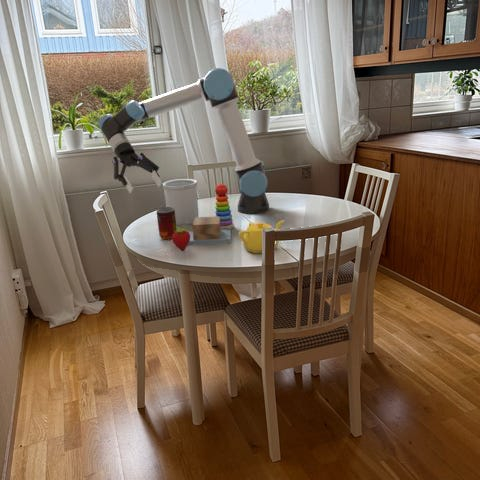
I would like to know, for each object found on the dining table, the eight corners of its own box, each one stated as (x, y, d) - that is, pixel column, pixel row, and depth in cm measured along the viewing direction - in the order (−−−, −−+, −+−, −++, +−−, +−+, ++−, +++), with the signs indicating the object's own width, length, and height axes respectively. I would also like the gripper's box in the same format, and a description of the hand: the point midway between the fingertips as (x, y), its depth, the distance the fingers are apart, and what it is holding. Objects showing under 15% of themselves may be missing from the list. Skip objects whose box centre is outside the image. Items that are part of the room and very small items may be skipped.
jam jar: (163, 235, 177) (160, 206, 173) (179, 235, 175) (177, 206, 171) (156, 240, 170) (153, 210, 166) (173, 241, 169) (170, 211, 165)
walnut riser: (221, 230, 174) (220, 216, 172) (219, 238, 164) (218, 223, 162) (196, 231, 174) (194, 217, 172) (193, 240, 165) (192, 225, 163)
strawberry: (169, 253, 157) (166, 226, 153) (183, 246, 163) (180, 221, 159) (181, 256, 154) (178, 229, 150) (195, 249, 159) (193, 223, 156)
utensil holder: (194, 225, 187) (191, 185, 181) (162, 225, 190) (157, 186, 184) (203, 216, 201) (200, 178, 195) (173, 215, 204) (169, 178, 198)
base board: (231, 232, 175) (230, 229, 175) (230, 243, 164) (230, 239, 163) (186, 234, 176) (186, 231, 175) (183, 245, 164) (182, 241, 164)
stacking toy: (236, 225, 184) (234, 182, 178) (229, 231, 177) (227, 186, 171) (219, 224, 187) (216, 181, 181) (212, 230, 180) (208, 186, 173)
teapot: (272, 257, 148) (272, 230, 145) (236, 253, 153) (235, 227, 150) (284, 244, 160) (284, 218, 157) (251, 241, 165) (250, 216, 162)
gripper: (144, 149, 190) (168, 187, 185) (91, 157, 173) (116, 199, 168) (150, 138, 184) (174, 177, 179) (96, 144, 168) (121, 187, 163)
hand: (146, 187), depth 174 cm, fingers open, 13 cm apart
